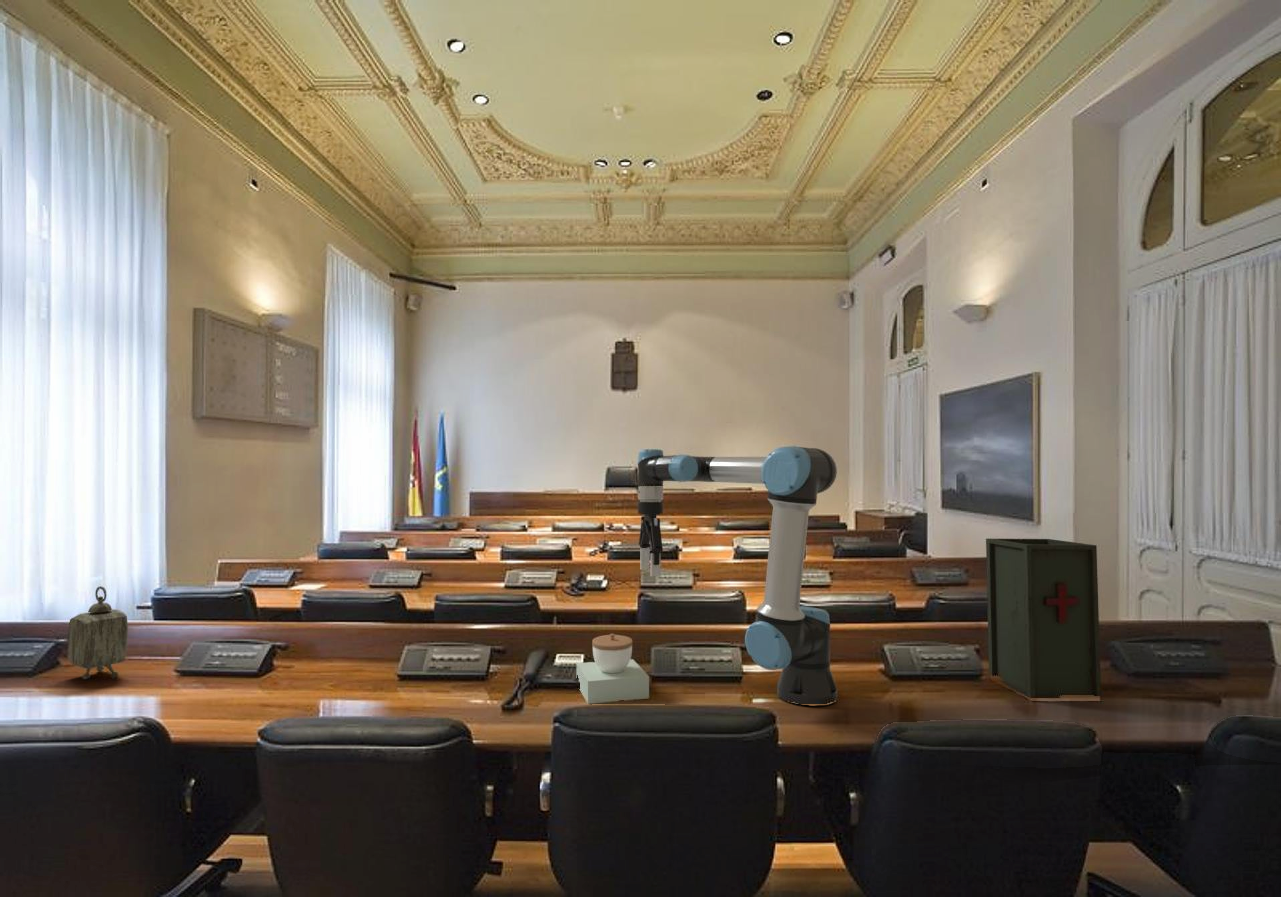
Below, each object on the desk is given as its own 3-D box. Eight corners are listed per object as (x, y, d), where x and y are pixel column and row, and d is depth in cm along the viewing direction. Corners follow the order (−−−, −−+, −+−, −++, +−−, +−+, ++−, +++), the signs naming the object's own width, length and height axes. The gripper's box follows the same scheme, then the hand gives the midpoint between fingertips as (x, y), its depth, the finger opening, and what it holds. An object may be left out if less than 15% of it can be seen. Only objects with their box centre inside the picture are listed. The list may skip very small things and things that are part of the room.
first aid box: (1052, 679, 180) (1048, 538, 182) (1101, 701, 161) (1096, 545, 163) (988, 679, 179) (985, 538, 181) (1031, 701, 161) (1027, 545, 163)
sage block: (632, 680, 177) (632, 659, 177) (648, 699, 161) (649, 676, 162) (576, 685, 172) (576, 663, 173) (587, 705, 157) (588, 681, 157)
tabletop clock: (125, 677, 174) (129, 587, 176) (83, 686, 167) (88, 591, 168) (105, 669, 182) (109, 582, 183) (64, 677, 174) (69, 586, 176)
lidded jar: (629, 677, 161) (630, 640, 161) (588, 675, 162) (588, 639, 162) (634, 663, 171) (634, 629, 172) (595, 662, 173) (595, 628, 173)
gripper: (629, 499, 199) (629, 567, 197) (647, 502, 174) (647, 579, 173) (652, 499, 200) (652, 566, 199) (673, 502, 176) (673, 578, 175)
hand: (650, 572), depth 186 cm, fingers open, 13 cm apart
